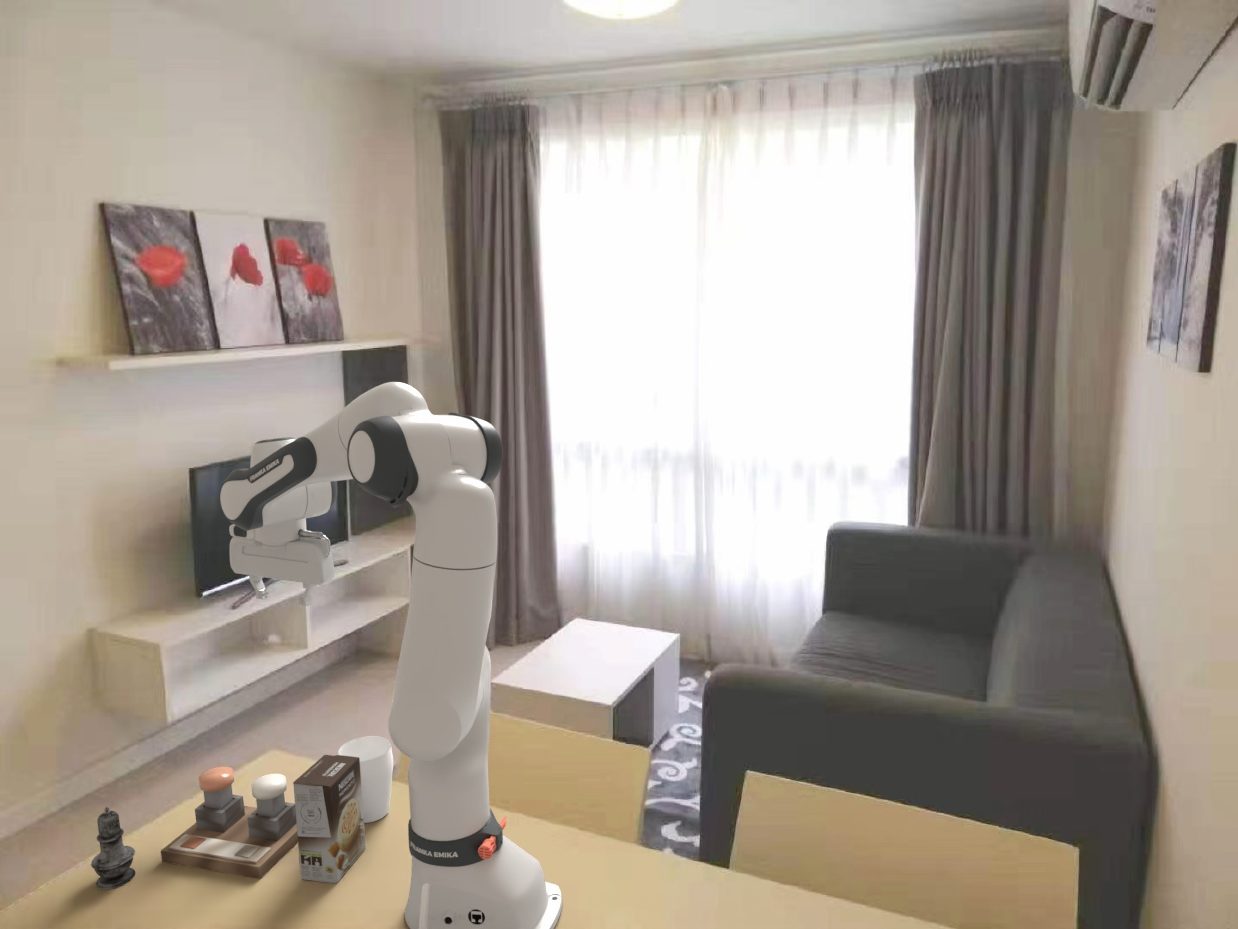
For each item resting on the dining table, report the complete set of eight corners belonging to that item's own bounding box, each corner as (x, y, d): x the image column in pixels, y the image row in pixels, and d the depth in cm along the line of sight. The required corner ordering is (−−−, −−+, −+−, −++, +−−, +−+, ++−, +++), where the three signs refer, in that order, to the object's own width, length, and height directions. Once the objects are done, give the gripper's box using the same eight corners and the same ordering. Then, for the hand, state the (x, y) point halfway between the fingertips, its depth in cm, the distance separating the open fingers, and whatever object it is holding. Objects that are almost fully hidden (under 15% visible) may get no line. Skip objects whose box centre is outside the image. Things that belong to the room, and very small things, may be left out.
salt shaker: (118, 893, 132) (108, 820, 129) (84, 888, 133) (74, 816, 131) (146, 868, 137) (137, 798, 135) (113, 864, 138) (104, 794, 136)
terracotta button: (243, 797, 147) (240, 768, 146) (222, 814, 142) (218, 785, 141) (216, 793, 148) (213, 765, 148) (194, 810, 143) (191, 781, 143)
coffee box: (338, 885, 133) (330, 787, 130) (299, 880, 134) (291, 783, 131) (367, 848, 141) (360, 756, 139) (331, 844, 143) (323, 753, 140)
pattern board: (313, 826, 148) (311, 797, 147) (260, 879, 134) (257, 846, 133) (222, 813, 152) (219, 783, 151) (161, 862, 139) (158, 830, 138)
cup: (381, 792, 158) (376, 730, 156) (406, 812, 151) (401, 748, 149) (333, 812, 152) (328, 748, 150) (357, 834, 145) (352, 767, 143)
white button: (295, 804, 145) (292, 775, 144) (275, 822, 140) (272, 792, 139) (267, 800, 146) (265, 772, 145) (247, 818, 141) (244, 788, 140)
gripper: (340, 528, 156) (343, 603, 158) (247, 518, 162) (251, 589, 165) (317, 537, 150) (321, 614, 152) (221, 525, 156) (226, 600, 159)
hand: (284, 601), depth 158 cm, fingers open, 8 cm apart
